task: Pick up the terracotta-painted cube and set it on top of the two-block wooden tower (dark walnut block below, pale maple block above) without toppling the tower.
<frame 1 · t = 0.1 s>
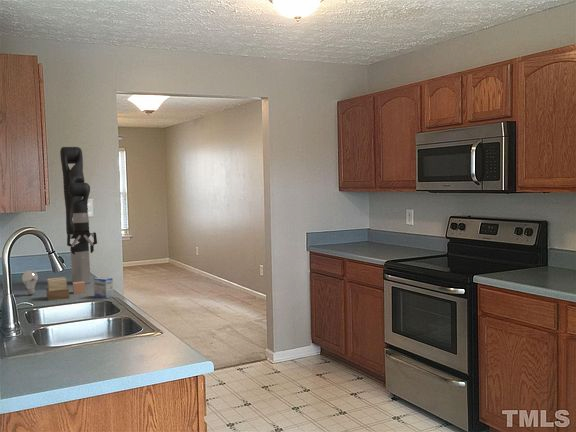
hand: (82, 253, 282), 17 cm above the table, tool pointing down, fingers open, 8 cm apart
cube: (79, 292, 268), on the table
medicine box: (103, 297, 256), on the table
tower top: (57, 288, 257), point 4 cm above the table
light bulb: (31, 295, 265), on the table
tower bottom: (58, 298, 257), on the table
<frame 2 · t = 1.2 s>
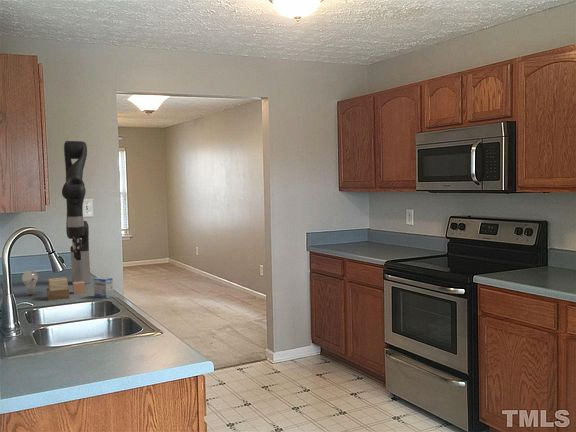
hand: (77, 259, 268), 16 cm above the table, tool pointing down, fingers open, 8 cm apart
tower top: (58, 288, 257), point 4 cm above the table, touching tower bottom
tower bottom: (58, 298, 257), on the table, touching tower top
everything else where it was.
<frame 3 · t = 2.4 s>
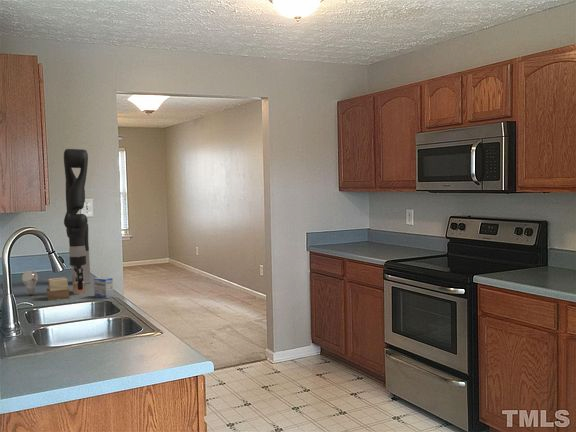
hand: (79, 288, 268), 2 cm above the table, tool pointing down, fingers open, 8 cm apart
nothing on the table moved.
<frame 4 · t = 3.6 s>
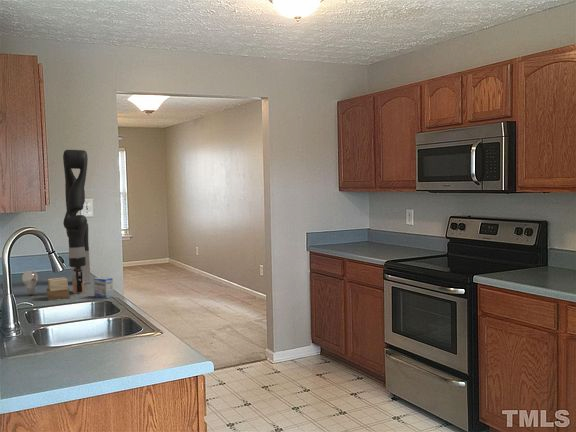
hand: (79, 290, 268), 1 cm above the table, tool pointing down, fingers closed on cube, 5 cm apart
cube: (79, 292, 268), on the table, touching gripper
tower top: (58, 288, 257), point 4 cm above the table
tower bottom: (58, 298, 257), on the table
everything else where it was.
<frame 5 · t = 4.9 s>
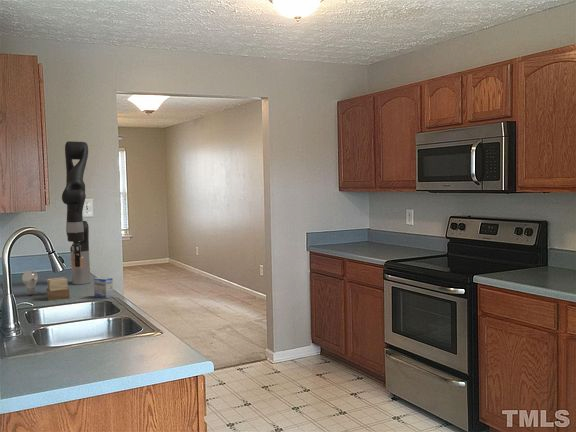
hand: (77, 265, 268), 13 cm above the table, tool pointing down, fingers closed on cube, 5 cm apart
cube: (77, 267, 268), point 12 cm above the table, touching gripper
everything else where it was.
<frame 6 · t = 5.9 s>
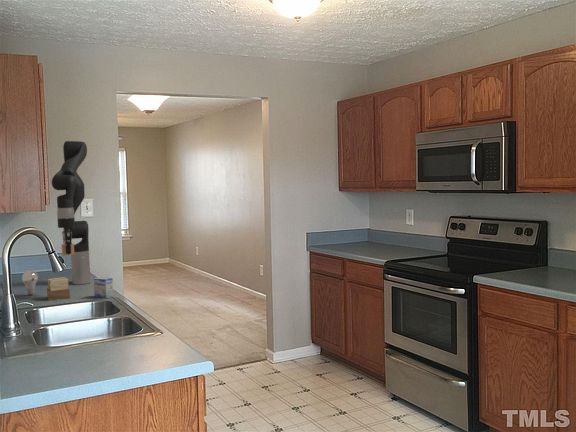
hand: (67, 253, 261), 20 cm above the table, tool pointing down, fingers closed on cube, 5 cm apart
cube: (68, 254, 262), point 19 cm above the table, touching gripper
tower top: (58, 288, 257), point 4 cm above the table, touching tower bottom
tower bottom: (58, 298, 257), on the table, touching tower top
everything else where it was.
when the fingers open (10 cm above the table, at t = 9.3 s): cube drops 1 cm, resting on tower top.
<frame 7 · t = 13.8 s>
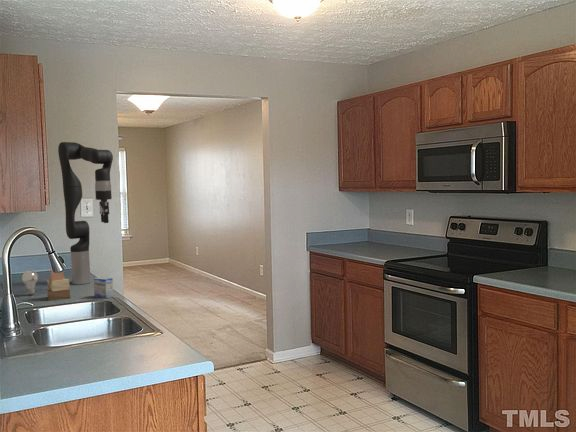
hand: (104, 222, 275), 33 cm above the table, tool pointing down, fingers open, 8 cm apart
cube: (57, 279, 256), point 9 cm above the table, touching tower top
tower top: (58, 289, 256), point 4 cm above the table, touching cube
tower bottom: (58, 298, 257), on the table
everything else where it was.
at the end: cube 0.5 cm from the tower top (horizontally); cube point 8.6 cm above the table; tower top tilted 0° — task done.
